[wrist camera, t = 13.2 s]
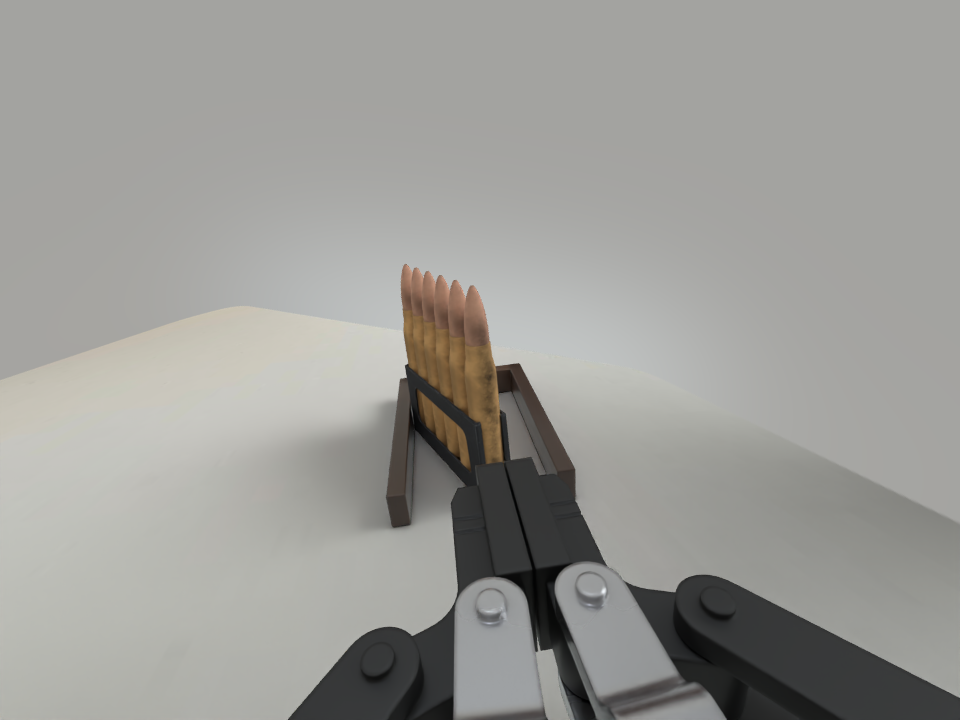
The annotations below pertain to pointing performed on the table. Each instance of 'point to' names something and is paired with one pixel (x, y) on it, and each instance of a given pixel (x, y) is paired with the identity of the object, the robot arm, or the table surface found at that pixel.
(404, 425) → the frame
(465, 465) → the ammunition clip
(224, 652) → the table surface
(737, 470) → the table surface
